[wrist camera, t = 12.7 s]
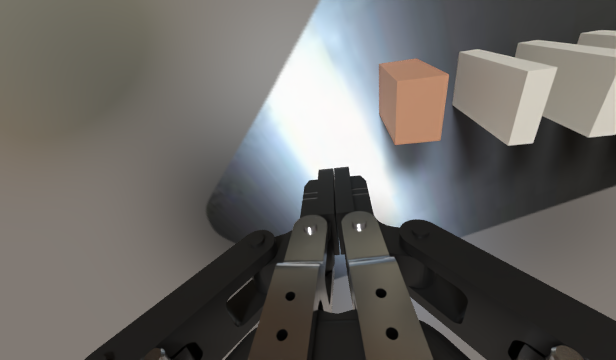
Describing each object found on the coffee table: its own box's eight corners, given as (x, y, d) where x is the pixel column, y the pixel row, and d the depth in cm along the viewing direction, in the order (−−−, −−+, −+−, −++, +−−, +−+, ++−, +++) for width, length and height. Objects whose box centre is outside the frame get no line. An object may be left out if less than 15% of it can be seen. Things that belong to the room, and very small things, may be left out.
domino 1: (416, 58, 25) (449, 74, 18) (413, 109, 27) (440, 140, 21) (379, 63, 25) (397, 81, 19) (379, 113, 28) (395, 144, 21)
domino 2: (477, 49, 24) (557, 67, 16) (468, 102, 27) (533, 143, 18) (459, 52, 24) (528, 71, 16) (452, 104, 27) (508, 145, 18)
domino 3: (537, 39, 23) (655, 53, 15) (522, 95, 26) (615, 134, 17) (518, 42, 24) (623, 58, 15) (504, 98, 26) (588, 137, 18)
